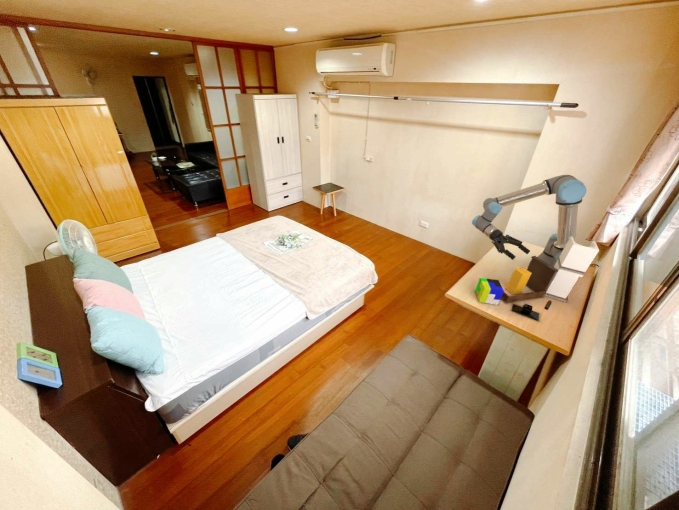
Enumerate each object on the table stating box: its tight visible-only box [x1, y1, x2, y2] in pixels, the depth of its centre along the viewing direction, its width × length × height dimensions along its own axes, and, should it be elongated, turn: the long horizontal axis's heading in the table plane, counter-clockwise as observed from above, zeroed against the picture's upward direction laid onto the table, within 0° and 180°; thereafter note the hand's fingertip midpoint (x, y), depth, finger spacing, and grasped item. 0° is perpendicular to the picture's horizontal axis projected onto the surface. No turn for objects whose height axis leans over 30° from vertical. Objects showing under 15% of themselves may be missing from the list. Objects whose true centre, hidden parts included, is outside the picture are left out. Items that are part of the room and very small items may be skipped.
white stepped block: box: [544, 236, 600, 303], centre depth 149 cm, size 11×11×35 cm
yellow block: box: [505, 267, 532, 295], centre depth 155 cm, size 6×6×15 cm
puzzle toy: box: [474, 277, 505, 306], centre depth 151 cm, size 10×10×10 cm
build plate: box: [511, 303, 540, 322], centre depth 143 cm, size 12×7×5 cm, turn 54°
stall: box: [500, 255, 559, 304], centre depth 154 cm, size 27×16×19 cm, turn 103°
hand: (521, 255), depth 156 cm, fingers open, 13 cm apart
